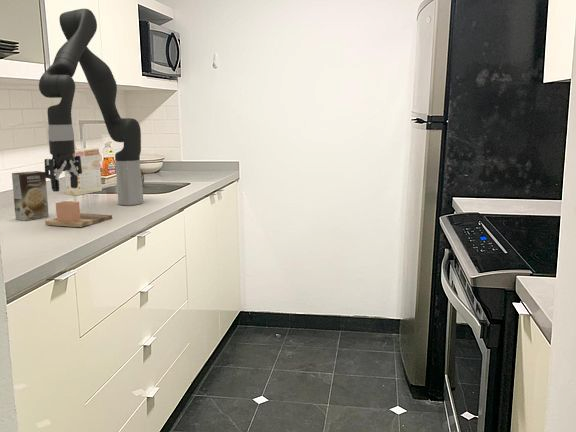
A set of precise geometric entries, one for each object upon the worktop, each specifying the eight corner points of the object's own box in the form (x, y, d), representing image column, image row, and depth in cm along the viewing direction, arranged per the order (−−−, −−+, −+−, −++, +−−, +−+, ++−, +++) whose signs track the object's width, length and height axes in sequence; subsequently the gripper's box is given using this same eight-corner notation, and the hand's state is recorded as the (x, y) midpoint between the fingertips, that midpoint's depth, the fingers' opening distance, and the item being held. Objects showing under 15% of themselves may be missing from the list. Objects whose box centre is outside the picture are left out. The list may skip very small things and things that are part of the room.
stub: (58, 221, 198) (56, 200, 196) (92, 223, 193) (91, 201, 192) (45, 224, 192) (43, 203, 191) (80, 227, 187) (78, 204, 186)
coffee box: (24, 221, 200) (19, 174, 197) (15, 219, 204) (10, 173, 201) (49, 217, 207) (45, 171, 204) (40, 215, 211) (36, 170, 208)
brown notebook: (78, 216, 207) (78, 212, 207) (112, 218, 202) (112, 214, 202) (59, 221, 198) (58, 218, 198) (93, 224, 193) (93, 220, 193)
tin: (131, 190, 270) (130, 171, 268) (124, 190, 271) (123, 171, 269) (145, 185, 285) (144, 168, 283) (139, 185, 285) (137, 168, 284)
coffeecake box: (91, 190, 272) (88, 147, 268) (102, 191, 268) (99, 148, 265) (65, 194, 259) (61, 150, 255) (77, 195, 255) (73, 150, 252)
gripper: (67, 137, 195) (71, 186, 198) (35, 140, 182) (39, 192, 185) (85, 138, 193) (89, 187, 196) (55, 140, 179) (59, 193, 182)
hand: (65, 189), depth 190 cm, fingers open, 8 cm apart
